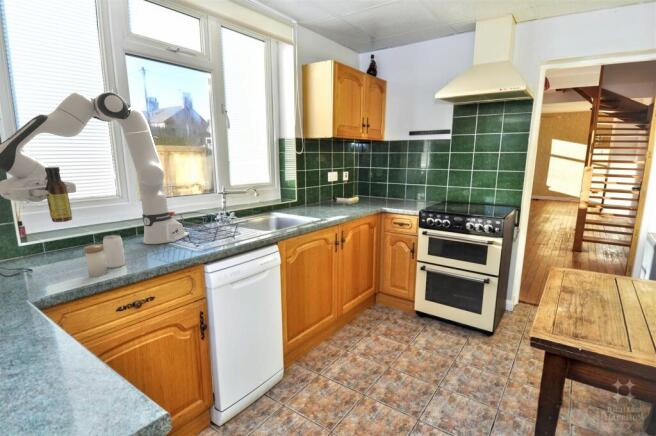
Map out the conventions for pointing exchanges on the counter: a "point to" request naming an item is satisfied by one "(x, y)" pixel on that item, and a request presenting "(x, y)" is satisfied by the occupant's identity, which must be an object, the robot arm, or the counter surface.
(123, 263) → the can
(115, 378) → the counter surface
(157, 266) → the counter surface
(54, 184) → the sauce bottle
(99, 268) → the spice jar
